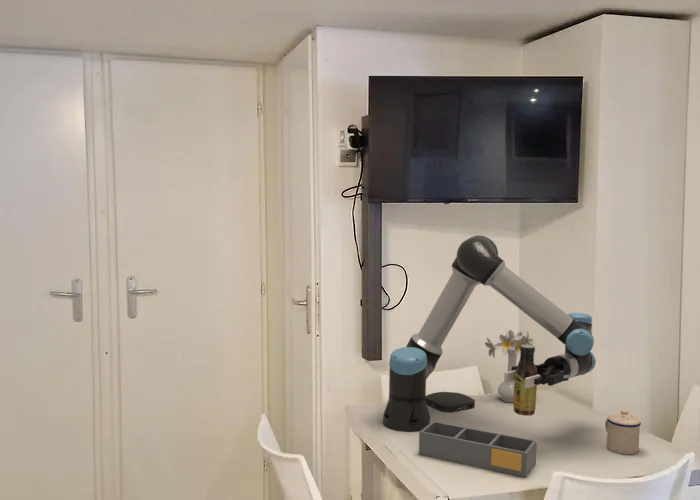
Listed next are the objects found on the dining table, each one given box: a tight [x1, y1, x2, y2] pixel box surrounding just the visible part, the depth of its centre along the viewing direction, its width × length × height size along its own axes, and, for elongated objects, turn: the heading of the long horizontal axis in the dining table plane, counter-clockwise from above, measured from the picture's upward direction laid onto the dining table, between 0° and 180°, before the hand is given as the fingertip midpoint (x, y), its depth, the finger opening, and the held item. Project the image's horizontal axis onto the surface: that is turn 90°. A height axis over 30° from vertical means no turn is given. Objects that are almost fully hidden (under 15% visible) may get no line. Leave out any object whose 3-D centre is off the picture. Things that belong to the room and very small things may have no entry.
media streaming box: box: [425, 391, 476, 413], centre depth 235 cm, size 15×15×3 cm
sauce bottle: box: [512, 344, 538, 417], centre depth 192 cm, size 7×6×20 cm
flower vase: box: [484, 329, 537, 403], centre depth 240 cm, size 13×18×25 cm
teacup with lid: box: [604, 409, 642, 455], centre depth 197 cm, size 12×9×12 cm
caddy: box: [418, 420, 538, 478], centre depth 186 cm, size 30×11×6 cm, turn 61°
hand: (515, 380), depth 188 cm, fingers closed on sauce bottle, 6 cm apart
